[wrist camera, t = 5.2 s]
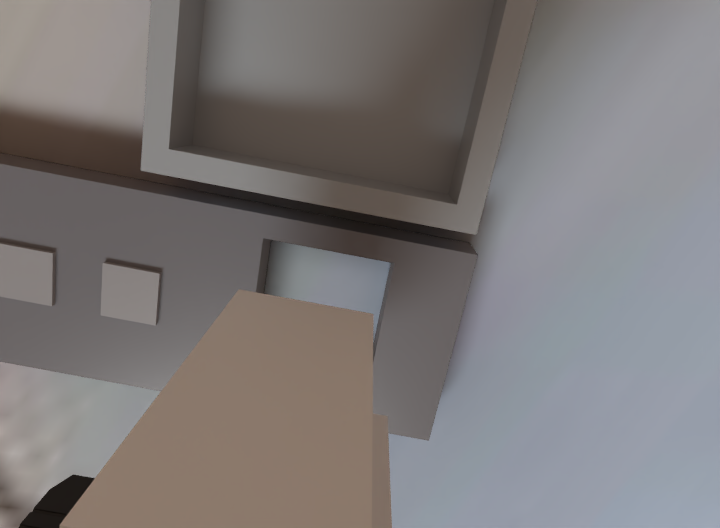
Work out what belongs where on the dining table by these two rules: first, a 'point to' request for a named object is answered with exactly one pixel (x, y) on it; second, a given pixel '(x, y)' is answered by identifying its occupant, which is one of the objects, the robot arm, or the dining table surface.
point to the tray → (336, 100)
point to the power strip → (198, 280)
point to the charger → (251, 428)
